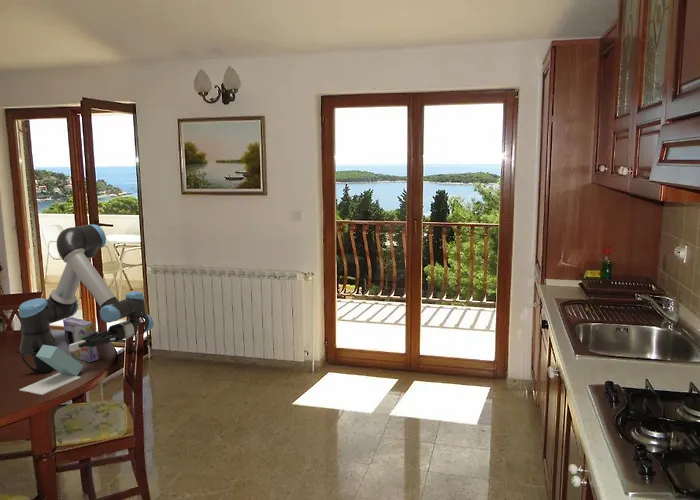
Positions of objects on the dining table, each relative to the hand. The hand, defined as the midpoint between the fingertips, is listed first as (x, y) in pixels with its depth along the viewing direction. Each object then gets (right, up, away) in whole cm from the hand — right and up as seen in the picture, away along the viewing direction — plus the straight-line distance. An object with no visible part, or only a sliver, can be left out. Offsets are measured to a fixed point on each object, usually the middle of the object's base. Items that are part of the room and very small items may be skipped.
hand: (70, 348), depth 226 cm
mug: (-15, -11, +6) cm, 20 cm away
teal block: (0, -9, +3) cm, 10 cm away
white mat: (-4, -13, -7) cm, 15 cm away
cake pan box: (-5, -8, +22) cm, 24 cm away
